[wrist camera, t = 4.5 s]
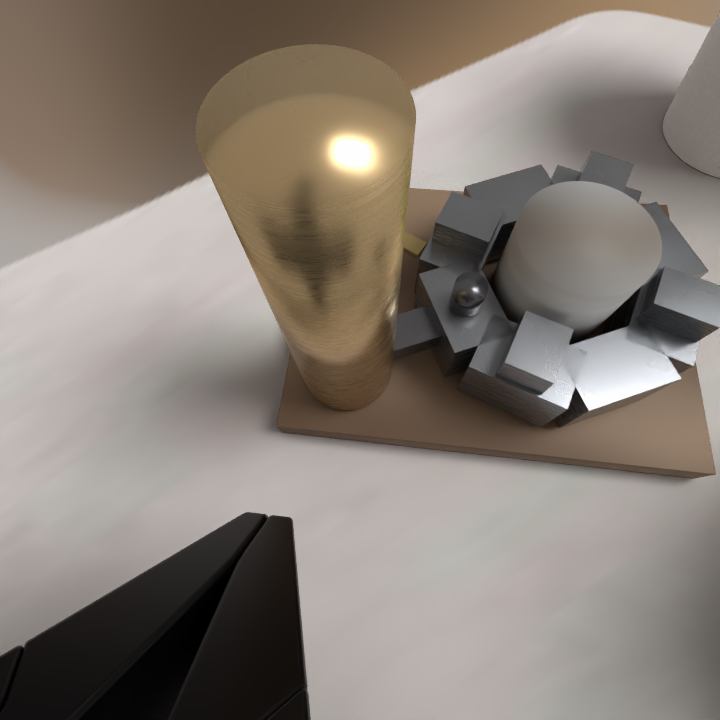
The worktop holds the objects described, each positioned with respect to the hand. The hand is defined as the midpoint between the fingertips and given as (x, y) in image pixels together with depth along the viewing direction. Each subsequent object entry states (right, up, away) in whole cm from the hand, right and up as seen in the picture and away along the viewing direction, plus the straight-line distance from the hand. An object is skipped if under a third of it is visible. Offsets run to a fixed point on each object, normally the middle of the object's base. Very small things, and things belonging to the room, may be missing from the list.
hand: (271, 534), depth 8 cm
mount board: (+6, +5, +10) cm, 13 cm away
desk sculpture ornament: (+6, +4, +8) cm, 11 cm away
